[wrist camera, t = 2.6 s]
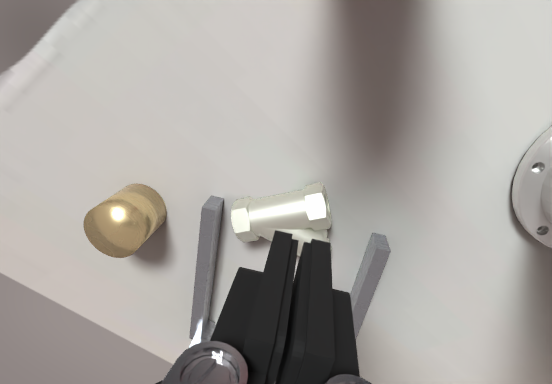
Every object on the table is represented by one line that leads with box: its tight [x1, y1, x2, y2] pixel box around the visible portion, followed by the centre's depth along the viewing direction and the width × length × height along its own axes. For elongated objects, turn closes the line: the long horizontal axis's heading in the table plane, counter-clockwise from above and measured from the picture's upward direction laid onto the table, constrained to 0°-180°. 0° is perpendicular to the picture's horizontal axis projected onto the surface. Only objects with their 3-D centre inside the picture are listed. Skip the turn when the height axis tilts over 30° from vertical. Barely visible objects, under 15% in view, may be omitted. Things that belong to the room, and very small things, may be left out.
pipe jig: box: [189, 196, 391, 348], centre depth 31 cm, size 16×20×5 cm
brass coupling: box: [84, 184, 166, 258], centre depth 29 cm, size 5×5×5 cm
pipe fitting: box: [231, 182, 332, 256], centre depth 28 cm, size 8×4×7 cm
